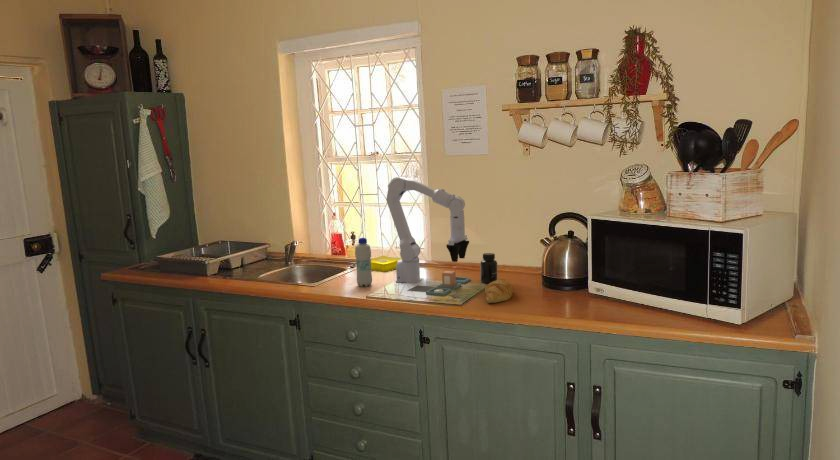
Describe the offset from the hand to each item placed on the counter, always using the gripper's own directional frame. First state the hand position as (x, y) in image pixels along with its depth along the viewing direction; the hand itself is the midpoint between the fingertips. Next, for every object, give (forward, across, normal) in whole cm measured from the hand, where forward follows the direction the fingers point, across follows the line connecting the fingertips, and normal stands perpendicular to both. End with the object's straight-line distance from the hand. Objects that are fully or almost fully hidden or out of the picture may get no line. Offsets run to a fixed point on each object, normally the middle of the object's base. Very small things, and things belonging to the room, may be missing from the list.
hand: (458, 259), depth 235 cm
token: (+9, -20, 0) cm, 22 cm away
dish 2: (+9, -10, 0) cm, 14 cm away
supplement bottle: (+10, +3, -12) cm, 16 cm away
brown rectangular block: (+9, -10, 0) cm, 13 cm away
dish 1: (+9, -20, 0) cm, 22 cm away
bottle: (+10, -17, +35) cm, 40 cm away
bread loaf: (+10, -18, -23) cm, 31 cm away
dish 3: (+9, 0, 0) cm, 9 cm away
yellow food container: (+10, +18, +46) cm, 50 cm away
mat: (+9, -16, +9) cm, 21 cm away
